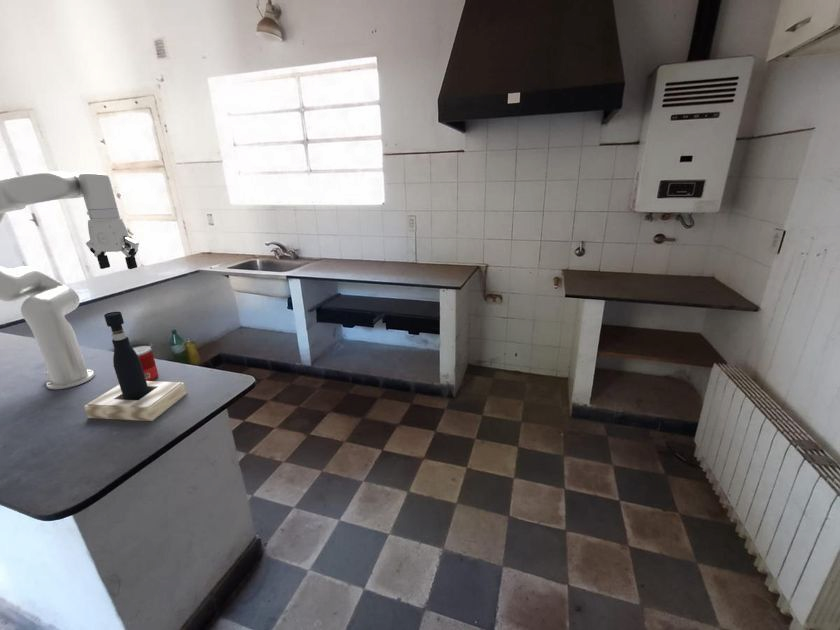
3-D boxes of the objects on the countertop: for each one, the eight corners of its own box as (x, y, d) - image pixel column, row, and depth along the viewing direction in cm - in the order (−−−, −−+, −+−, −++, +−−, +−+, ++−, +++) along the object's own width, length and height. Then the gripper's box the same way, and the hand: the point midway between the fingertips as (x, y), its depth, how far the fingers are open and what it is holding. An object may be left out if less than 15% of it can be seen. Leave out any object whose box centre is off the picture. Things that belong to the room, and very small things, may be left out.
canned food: (163, 374, 137) (156, 346, 133) (146, 385, 129) (138, 356, 126) (144, 373, 138) (136, 345, 134) (125, 384, 130) (116, 355, 126)
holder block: (88, 417, 112) (83, 404, 110) (129, 391, 126) (126, 379, 124) (152, 421, 110) (148, 407, 109) (186, 393, 124) (183, 381, 123)
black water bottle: (131, 413, 114) (102, 319, 104) (123, 406, 118) (94, 314, 107) (155, 403, 119) (129, 312, 109) (147, 397, 122) (121, 308, 112)
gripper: (67, 215, 117) (84, 270, 123) (119, 215, 116) (134, 271, 121) (89, 213, 124) (104, 265, 130) (139, 213, 123) (152, 266, 128)
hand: (119, 268), depth 126 cm, fingers open, 9 cm apart
